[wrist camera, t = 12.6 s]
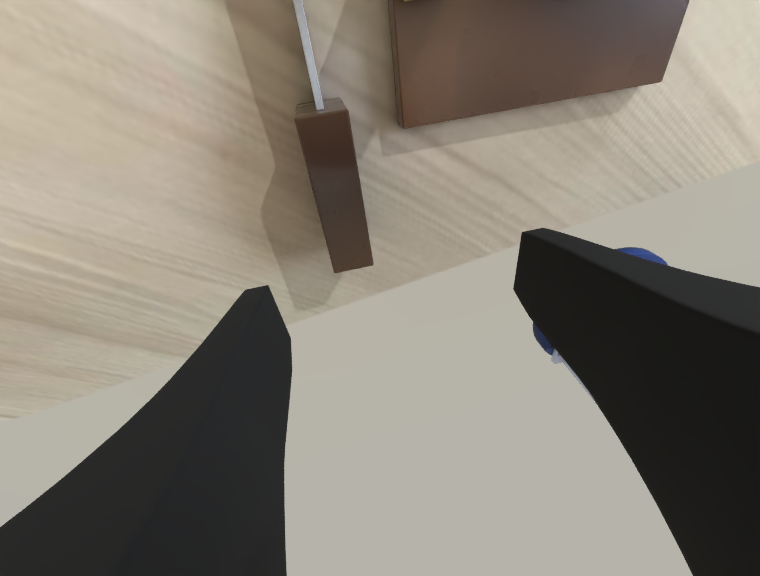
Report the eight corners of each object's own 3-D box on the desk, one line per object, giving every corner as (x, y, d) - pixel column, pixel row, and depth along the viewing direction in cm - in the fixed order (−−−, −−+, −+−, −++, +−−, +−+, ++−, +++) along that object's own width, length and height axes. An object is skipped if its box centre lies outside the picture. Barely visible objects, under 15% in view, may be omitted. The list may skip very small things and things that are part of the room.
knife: (364, 234, 19) (373, 265, 16) (330, 241, 19) (334, 273, 16) (288, -206, 10) (280, -300, 7) (220, -199, 10) (188, -291, 7)
